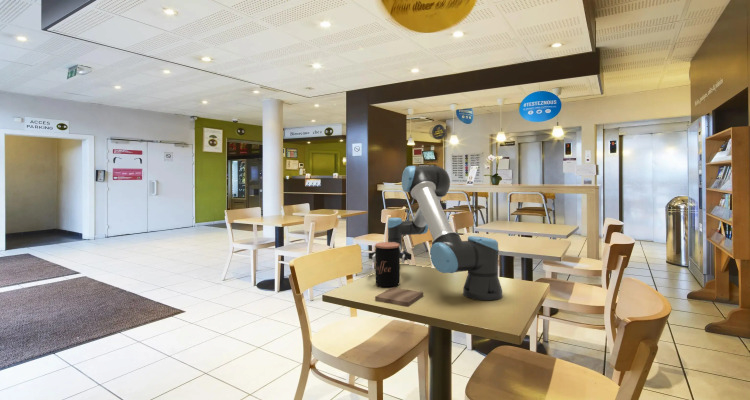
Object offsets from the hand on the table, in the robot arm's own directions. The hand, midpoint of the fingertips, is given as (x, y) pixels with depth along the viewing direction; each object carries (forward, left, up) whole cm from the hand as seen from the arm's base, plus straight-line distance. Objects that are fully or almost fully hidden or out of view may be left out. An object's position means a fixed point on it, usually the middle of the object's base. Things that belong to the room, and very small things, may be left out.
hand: (387, 260), depth 173 cm
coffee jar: (-2, +5, -10) cm, 11 cm away
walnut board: (-15, +19, -10) cm, 26 cm away
